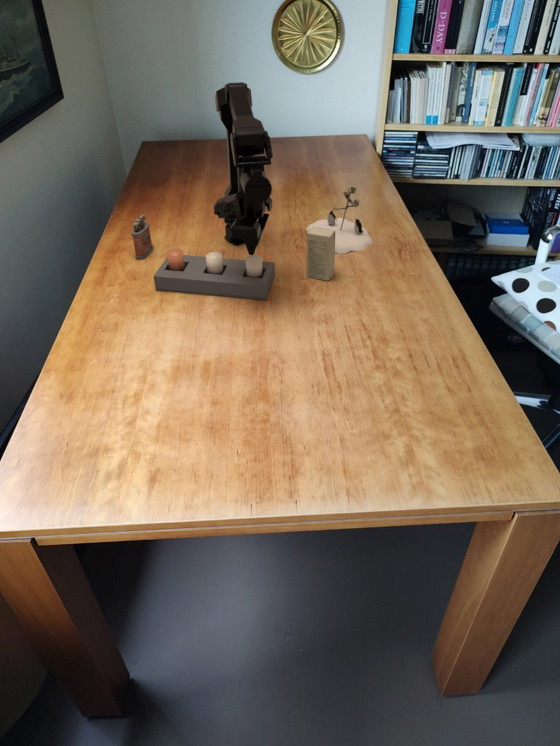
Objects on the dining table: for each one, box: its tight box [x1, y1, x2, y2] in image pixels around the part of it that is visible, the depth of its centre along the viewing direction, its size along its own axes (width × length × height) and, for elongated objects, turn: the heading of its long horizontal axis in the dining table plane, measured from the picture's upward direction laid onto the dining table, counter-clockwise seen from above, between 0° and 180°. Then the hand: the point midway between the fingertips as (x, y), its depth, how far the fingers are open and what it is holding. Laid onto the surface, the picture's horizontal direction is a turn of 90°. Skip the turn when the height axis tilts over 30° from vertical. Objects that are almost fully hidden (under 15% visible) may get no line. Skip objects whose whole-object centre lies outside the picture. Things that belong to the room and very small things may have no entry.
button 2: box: [245, 254, 263, 278], centre depth 135 cm, size 4×4×4 cm
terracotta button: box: [166, 248, 185, 271], centre depth 137 cm, size 4×4×4 cm
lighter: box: [130, 214, 154, 261], centre depth 150 cm, size 8×3×10 cm, turn 168°
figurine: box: [305, 184, 374, 255], centre depth 154 cm, size 20×18×16 cm
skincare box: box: [306, 227, 336, 282], centre depth 139 cm, size 6×4×12 cm
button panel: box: [153, 254, 276, 301], centre depth 138 cm, size 28×12×4 cm, turn 80°
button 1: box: [205, 251, 223, 274], centre depth 136 cm, size 4×4×4 cm
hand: (253, 250), depth 132 cm, fingers open, 4 cm apart
